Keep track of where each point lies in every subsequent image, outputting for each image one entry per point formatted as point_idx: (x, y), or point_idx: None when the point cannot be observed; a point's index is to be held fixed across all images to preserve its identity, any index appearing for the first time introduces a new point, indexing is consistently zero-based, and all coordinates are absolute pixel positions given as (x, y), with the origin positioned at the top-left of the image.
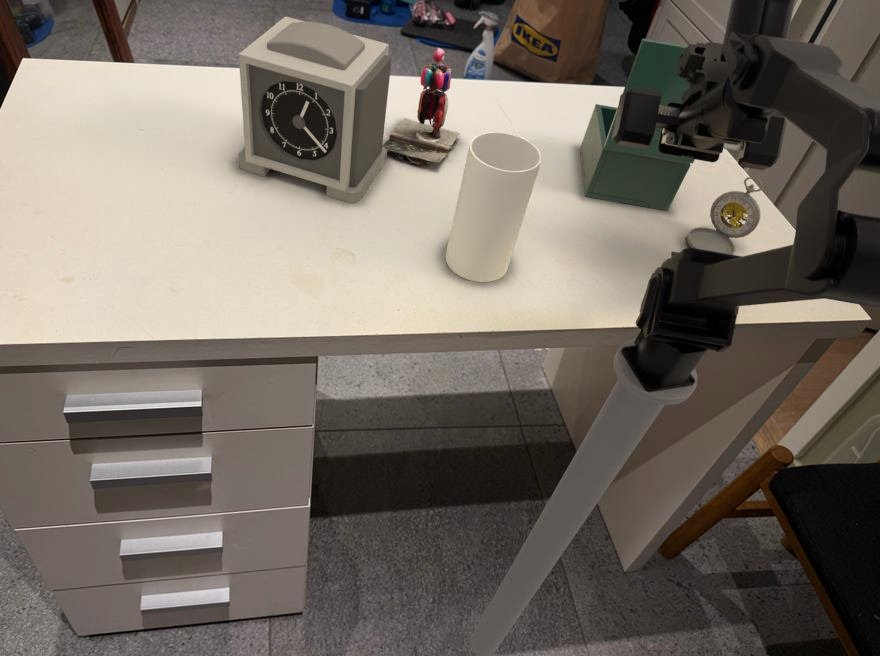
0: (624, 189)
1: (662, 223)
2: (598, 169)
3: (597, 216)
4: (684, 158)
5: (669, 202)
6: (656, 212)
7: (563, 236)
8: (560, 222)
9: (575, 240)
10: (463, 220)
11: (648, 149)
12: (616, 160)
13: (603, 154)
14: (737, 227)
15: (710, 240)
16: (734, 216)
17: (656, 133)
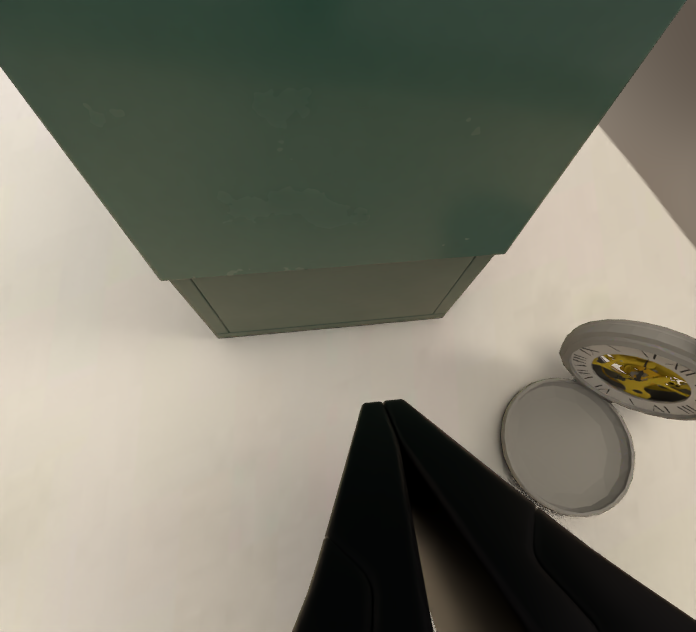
0: (311, 316)
1: (432, 379)
2: (201, 307)
3: (251, 420)
4: (473, 249)
5: (443, 310)
6: (414, 335)
7: (137, 574)
8: (134, 499)
9: (175, 580)
10: None
11: (329, 254)
12: (239, 285)
13: (180, 285)
14: (643, 397)
15: (561, 413)
16: (639, 379)
17: (336, 208)
